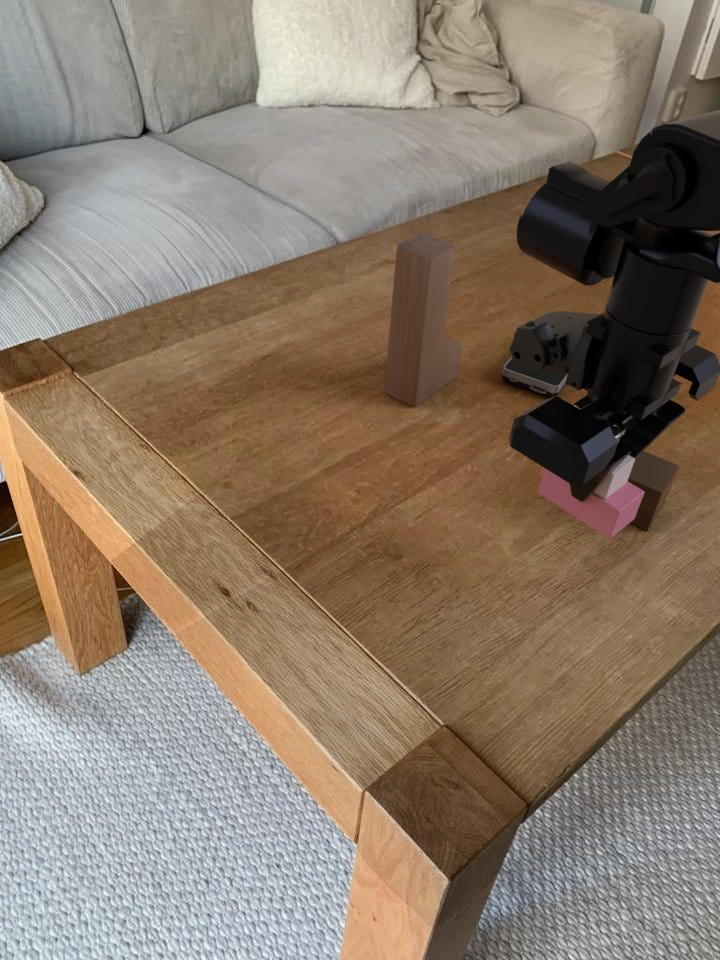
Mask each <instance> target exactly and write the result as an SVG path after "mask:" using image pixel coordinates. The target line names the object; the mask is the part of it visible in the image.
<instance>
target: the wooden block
mask: <svg viewBox="0 0 720 960" xmlns="http://www.w3.org/2000/svg"><path fill="white" fill-rule="evenodd" d="M456 248H457V247H456V245H454V244H451V243H450V242H446V241H444V240H441V239H439V238H436V237H433V236H431V235H428V234H426V233H419V234H417V235H415V236H413V237H411V238H409V239H408V240H405V241H403V242H401V243H399V244H398V245H397V246H396V252H395V263H394V264H395V265H394V272H393V273H394V275H393V286H392V287H393V288H392V296H391V297H392V298H391V309H390V319H389V321H390V322H389V332H388V341H387V352H386V353H387V356H386V357H387V358H386V365H385V377H384V387H383V388H384V390H383V392H384V393H385V394H386V395H388V396H390V397H392V398H394V399H396V400H398V401H400V402H402V403H405V404H406V405H408V406H410V407H413V408H416V407H417V406H418V405H420V404H421V403H423V402H424V401H426V400H427V399H428V398H429V397H431V396H433V395H434V394H435V393H436V392H438V391H439V390H441V389H442V388H443V387H445V386H446V385H448V384H449V383H451V382H452V381H453V380H455V379H456V378H457V377H458V376H459V373H460V366H461V360H462V352H463V344H462V343H460V342H459V341H456V340H454V339H451V338H449V337H447V336H445V330H446V323H447V315H448V307H449V300H450V293H451V286H452V279H453V272H454V265H455V258H456V257H455V256H456V252H457V251H456Z"/></svg>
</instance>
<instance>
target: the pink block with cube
mask: <svg viewBox="0 0 720 960" xmlns="http://www.w3.org/2000/svg"><path fill="white" fill-rule="evenodd" d="M634 461H635V458H633V457H631V456H630V455H628V456H627V457H626V458H625V459H624V460H623V461H622V463H621V464H620V465H619V466H618V467H617V468H616V469H615V470H614V471H613V472H612V473H611V474H610V475H609V476H608V477H607V478H606V479H605V480H604V481H603V482H602V484H601V485H600V486H599V487H598V488H597V489H596V490H595V491H594V492H593V493H592V494H591V495H590V496H589V497H588V498H587V499H586V500H585V501H584V502H580V501H579V500H577V499H576V498H574V497H573V496H572V495H571V489H570V484H569V483H568V482H566V481H565V480H563V479H561V478H560V477H558V476H556V475H555V474H553V473H552V472H550V471H548V470H547V469H545V468H544V469H543V473H542V476H541V479H540V484H539V488H538V491H537V493H538V495H540V496H541V497H544V498H545V499H547V501H549V502H551V503H552V504H554V505H556V506H557V507H559V508H560V509H561V510H563V511H564V512H566V513H568V514H570V515H571V516H572V517H574V518H575V519H577V520H579V521H580V522H582V523H583V524H585V525H586V526H588V527H589V528H591V529H593V530H594V531H595V532H597V533H599V534H600V535H602V536H603V537H605V538H606V539H608V540H610V539H612V538H614V536H616V535H617V534H618V533H620V532H621V530H623V529H625V527H626V526H628V525H630V524H629V523H630V522H631V521H633V520H634V519H635V516H636V513H637V511H638V508H639V506H640V503H641V501H642V498H643V495H644V493H645V492H644V491H643V490H641V489H640V488H638V487H636V486H634V485H633V484H631V483H629V482H628V481H627V480H628V478H629V475H630V472H631V469H632V467H633V464H634Z"/></svg>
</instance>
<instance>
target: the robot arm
mask: <svg viewBox="0 0 720 960" xmlns="http://www.w3.org/2000/svg"><path fill="white" fill-rule="evenodd" d="M711 232H718V233H715V234H713V233H711ZM516 243H517V245H518V248H519V250H520V251H521V252H522V253H523V254H524V255H527V256H529V257H530V258H532V259H534V260H536V261H538V262H540V263H541V264H543V265H545V266H547V267H548V268H551V269H553V270H555V271H556V272H559V273H561V274H563V275H564V276H566V277H568V278H570V279H571V280H574V281H576V282H577V283H579V284H581V285H584V286H588V287H589V286H595V285H597V284H599V283H600V282H602V281H603V280H605V279H611V278H613V279H612V282H611V285H610V286H611V287H610V290H609V293H608V297H607V301H606V303H605V308H604V311H603V312H602V313H600V314H599V313H590V312H589V313H588V312H580V311H579V312H577V311H566V310H557V311H551V312H547V313H545V314H543V315H541V316H539V317H537V318H536V319H534V320H529V321H527V322H525V323H522V324H521V325H519V326H518V327H516V330H515V332H514V333H513V337H512V342H511V345H510V346H509V353H510V354H511V357H512V360H513V363H514V364H515V365H516V366H517V367H518V368H521V369H526V370H529V371H542V370H545V371H552V372H559V373H568V374H567V378H566V382H565V383H566V384H565V385H567V386H569V387H571V388H573V389H574V390H576V391H581V390H585V391H586V392H587V393H586V395H585V396H583V397H582V398H580V399H579V400H577V401H575V402H574V403H573V404H571V403H570V402H568V401H567V400H564V399H563V398H561V397H559V396H558V395H557V396H555V397H549V398H547V399H544V400H542V401H540V402H539V403H537V404H535V405H533V406H532V407H530V408H529V409H527V410H526V411H524V412H522V413H520V414H519V415H517V416H516V417H514V418H513V420H512V426H511V430H510V434H509V439H508V441H509V447H510V448H512V449H513V450H515V451H516V452H518V453H520V455H523V456H524V457H526V458H527V459H529V460H531V461H532V462H533V463H535V464H536V465H539V466H540V467H542V468H544V469H547V470H548V471H550V472H552V473H553V474H555V475H556V476H558V477H560V478H561V479H563V480H565V481H566V482H568V483H569V484H570V489H571V495H572V496H573V497H574V498H576V499H577V500H579V501H580V502H584V501H585V500H586V499H587V498H588V497H589V496H590V495H591V494H592V493H593V492H594V491H595V490H596V489H597V488H598V487H599V486H600V485H601V484H602V482H603V481H604V480H605V479H606V478H607V477H608V476H609V475H610V474H611V473H612V472H613V471H614V470H615V469H616V468H617V467H618V466H619V465H620V464H621V463H622V461H623V460H624V459H625V458H626V457H627V456H628V455H630V456H631V457H633V458H636V457H637V456H638V455H639V454H640V453H642V452H643V451H646V450H647V448H648V447H650V446H651V444H653V443H654V442H655V441H656V440H657V439H658V438H659V437H660V436H661V435H663V434H664V432H665V431H666V430H668V428H670V427H671V426H672V425H673V424H674V423H675V422H676V421H678V419H680V418H681V417H682V416H683V415H684V414H685V413H686V407H684V406H683V405H682V404H680V403H679V402H677V401H674V400H672V399H673V398H675V397H676V396H678V393H679V391H680V388H681V385H682V382H681V381H678V380H677V379H675V378H674V377H676V376H679V377H681V378H682V379H684V380H687V381H689V382H691V385H690V387H689V389H688V395H689V398H691V399H692V400H694V401H696V402H698V401H699V400H700V399H702V398H704V396H706V395H707V394H708V393H710V392H712V391H713V390H714V389H715V387H716V384H717V382H718V379H719V377H720V362H719V359H718V357H717V355H716V353H715V352H713V351H710V350H708V349H707V348H704V347H702V346H699V345H698V341H699V338H700V336H701V333H702V332H701V331H699V330H696V329H695V328H693V325H694V323H695V320H696V318H697V314H698V311H699V309H700V306H701V304H702V301H703V298H704V295H705V293H706V290H707V287H708V285H709V282H712V283H714V284H720V109H717V110H713V111H709V112H706V113H702V114H698V115H694V116H690V117H686V118H682V119H678V120H675V121H670V122H666V123H664V124H660V125H657V126H654V127H653V128H652V129H651V130H649V132H647V134H645V136H643V137H642V138H641V139H640V141H639V142H638V144H637V146H636V148H635V149H634V151H633V153H632V157H631V160H630V163H629V165H628V166H627V167H626V168H625V169H623V170H622V172H620V173H619V174H618V175H617V176H616V177H614V178H613V179H612V180H611V181H609V180H607V179H605V178H603V177H600V176H598V175H595V174H593V173H591V172H590V171H588V170H587V169H586V168H585V167H583V166H582V165H579V164H577V163H574V162H572V161H567V162H563V163H559V164H556V165H552V166H550V167H549V168H548V172H547V176H546V182H545V183H544V184H543V185H542V186H540V187H539V189H537V191H536V192H535V193H534V194H533V195H532V197H531V198H530V200H529V202H528V203H527V205H526V207H525V209H524V211H523V213H522V215H521V214H520V216H519V218H518V222H517V226H516Z"/></svg>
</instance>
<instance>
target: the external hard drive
mask: <svg viewBox="0 0 720 960" xmlns="http://www.w3.org/2000/svg"><path fill="white" fill-rule="evenodd" d="M567 374H568V373H559V372H552V371H545V370H542V371H529V370H526V369H521V368H518V367H517V366H516V365H515V364H514V363H513V360H512V356H511V357H510V358H509V359H508V360H507V362H506V363H505V364H503V368H502V374H501V378H502V380H503V381H504V382H505V383H509V384H512V385H515V386H517V387H521V388H523V389H526V390H529V391H531V392H535V393H537V394H540V395H543V396H545V397H547V398H552V397H555V396H557V397H558V395H559V394H560V392H561V391H562V390H563V388H564V387H565V386H566V385H567V384H566V383H565V382H566V378H567Z"/></svg>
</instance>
